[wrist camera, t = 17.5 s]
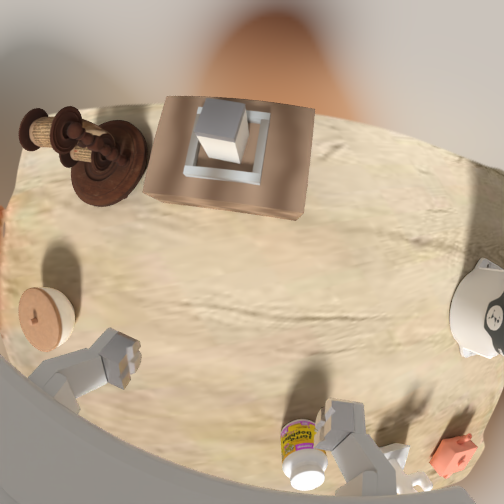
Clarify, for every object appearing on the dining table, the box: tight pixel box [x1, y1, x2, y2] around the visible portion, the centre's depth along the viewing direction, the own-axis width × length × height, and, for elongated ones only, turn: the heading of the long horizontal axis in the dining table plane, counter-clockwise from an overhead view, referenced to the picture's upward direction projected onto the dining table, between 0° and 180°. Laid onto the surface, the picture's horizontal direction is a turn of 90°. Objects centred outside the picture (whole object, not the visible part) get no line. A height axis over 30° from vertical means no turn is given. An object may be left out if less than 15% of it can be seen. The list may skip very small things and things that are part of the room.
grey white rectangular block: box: [194, 98, 249, 164], centre depth 29 cm, size 4×4×8 cm
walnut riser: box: [143, 96, 315, 221], centre depth 36 cm, size 20×14×10 cm
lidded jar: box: [19, 287, 75, 352], centre depth 37 cm, size 11×11×9 cm
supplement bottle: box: [281, 419, 328, 490], centre depth 34 cm, size 7×7×13 cm
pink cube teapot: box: [429, 433, 478, 479], centre depth 35 cm, size 8×12×8 cm, turn 169°
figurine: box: [379, 443, 433, 494], centre depth 32 cm, size 7×9×15 cm
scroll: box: [19, 106, 147, 207], centre depth 32 cm, size 15×15×20 cm
